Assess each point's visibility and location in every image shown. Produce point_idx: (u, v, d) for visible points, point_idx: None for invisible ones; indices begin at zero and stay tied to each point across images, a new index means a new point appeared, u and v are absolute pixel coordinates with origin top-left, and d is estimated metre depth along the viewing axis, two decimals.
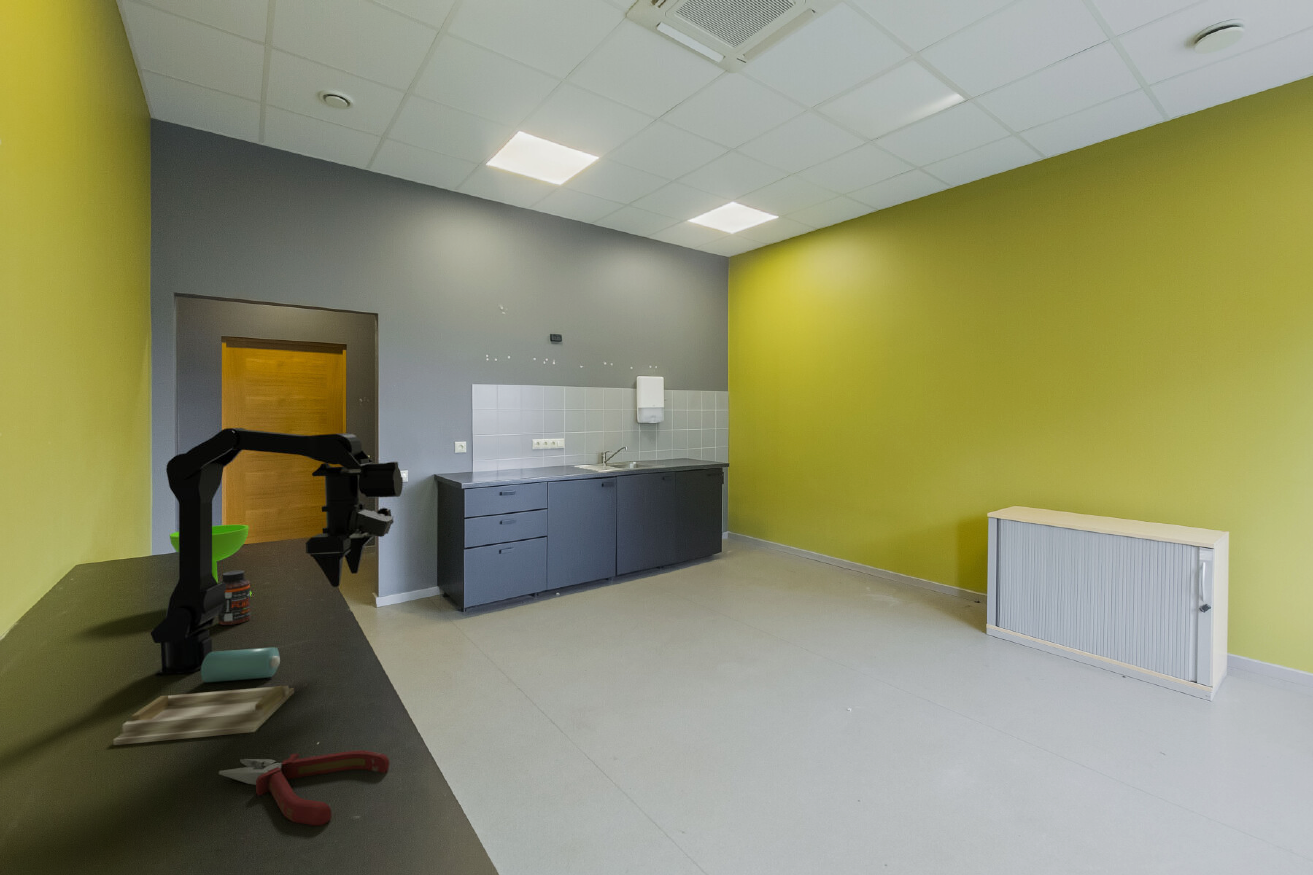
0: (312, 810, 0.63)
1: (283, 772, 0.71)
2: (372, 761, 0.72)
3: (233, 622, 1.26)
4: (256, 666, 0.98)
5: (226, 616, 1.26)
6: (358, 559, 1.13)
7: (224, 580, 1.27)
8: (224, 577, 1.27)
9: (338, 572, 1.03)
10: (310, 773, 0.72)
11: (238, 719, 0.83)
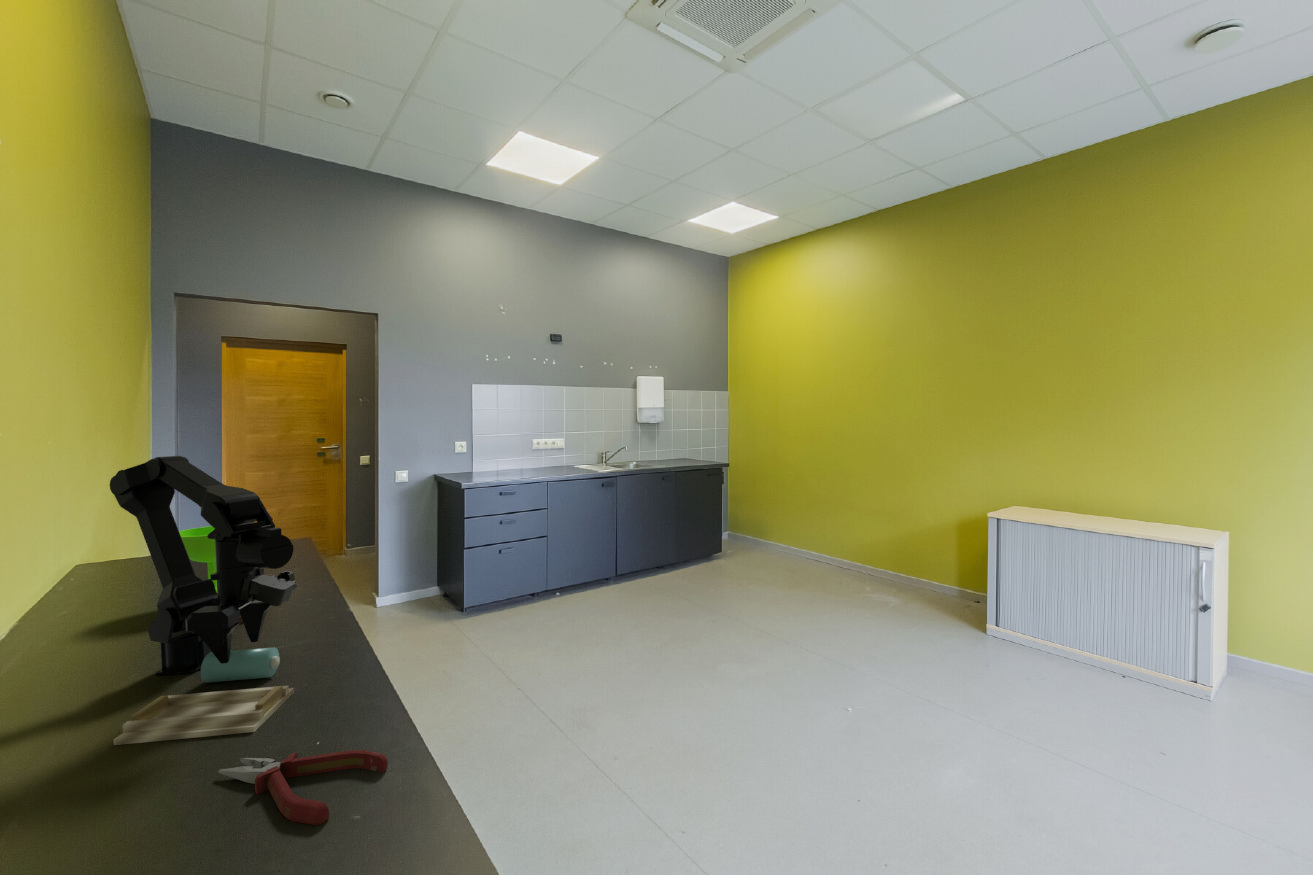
0: (310, 809, 0.63)
1: (282, 771, 0.71)
2: (370, 761, 0.73)
3: None
4: (256, 667, 0.98)
5: None
6: (258, 626, 1.04)
7: None
8: None
9: (226, 647, 0.94)
10: (309, 772, 0.72)
11: (238, 719, 0.83)
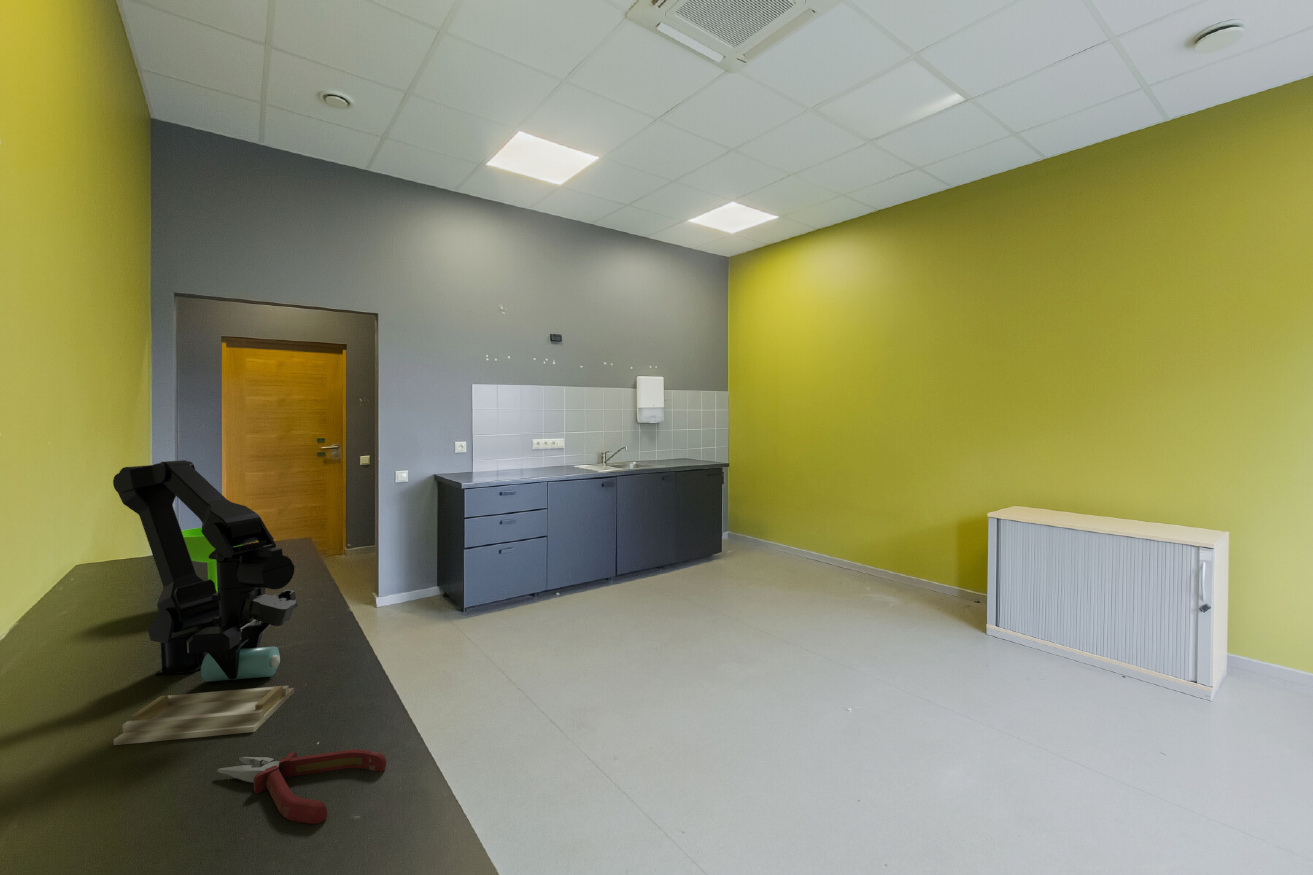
0: (308, 808, 0.63)
1: (281, 770, 0.71)
2: (369, 760, 0.73)
3: None
4: (256, 666, 0.98)
5: None
6: None
7: None
8: None
9: (234, 663, 0.96)
10: (308, 772, 0.72)
11: (238, 719, 0.83)
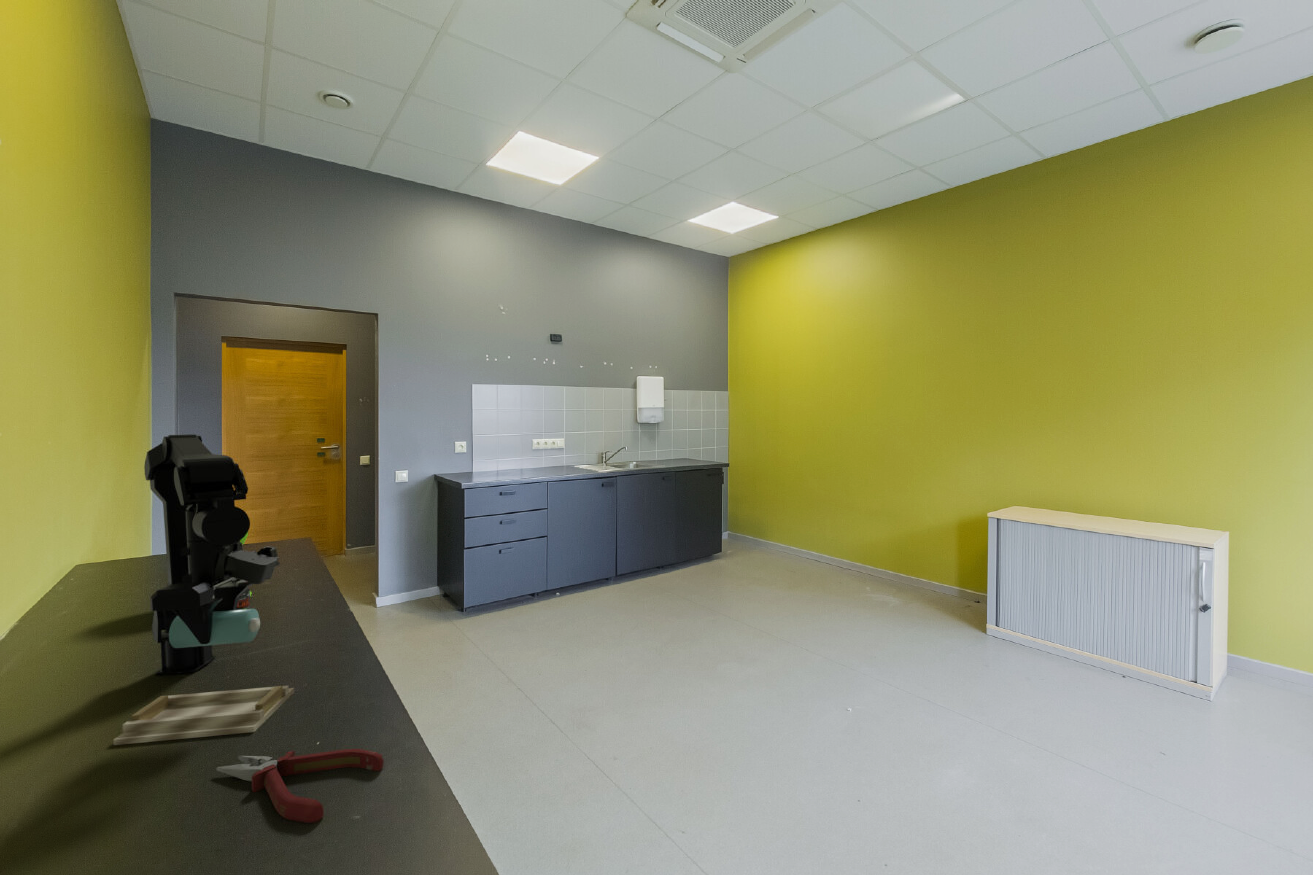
0: (304, 807, 0.63)
1: (279, 769, 0.72)
2: (366, 760, 0.73)
3: None
4: (233, 629, 0.87)
5: None
6: None
7: None
8: None
9: (206, 626, 0.85)
10: (305, 771, 0.72)
11: (238, 719, 0.83)
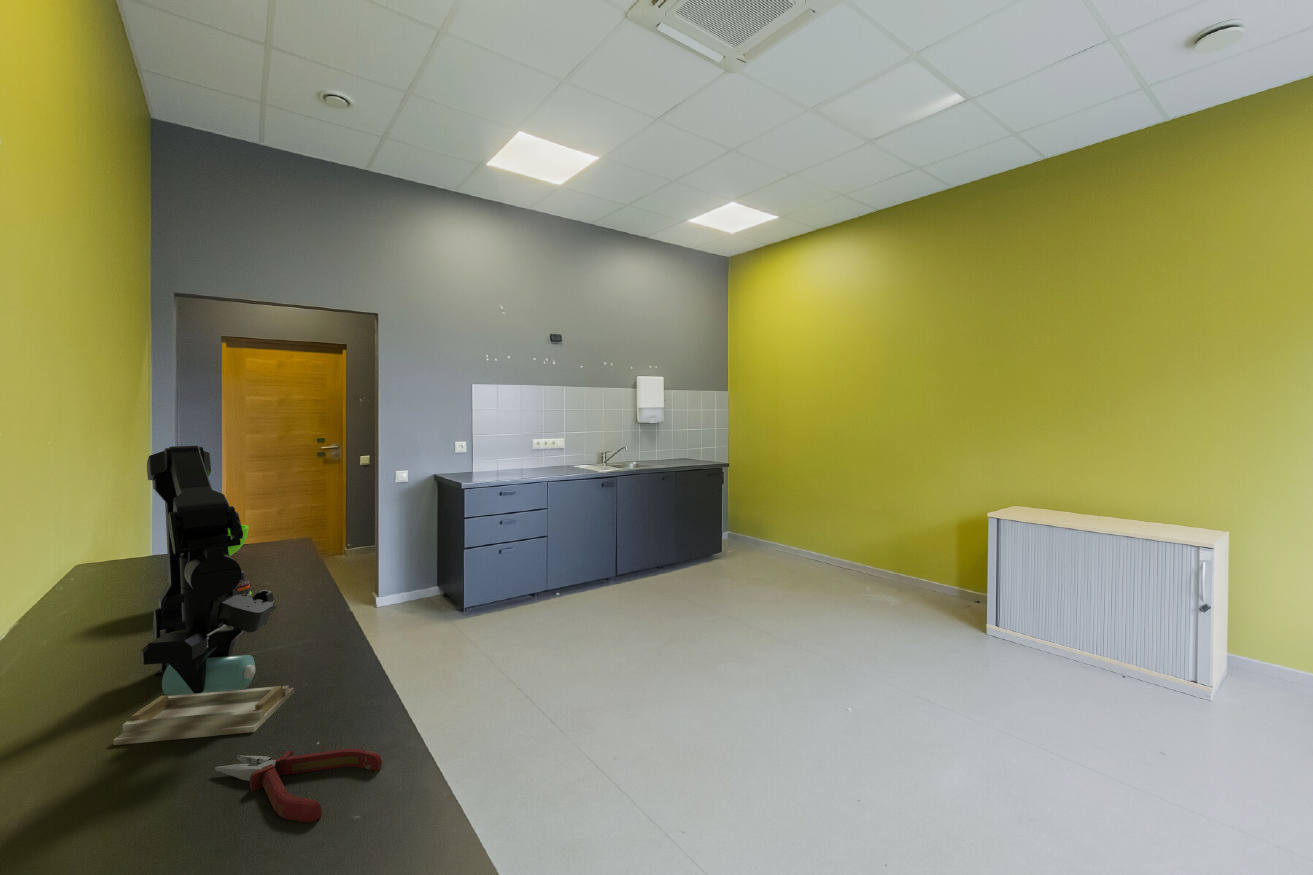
0: (302, 807, 0.63)
1: (277, 769, 0.72)
2: (364, 759, 0.73)
3: None
4: (227, 678, 0.85)
5: None
6: None
7: None
8: None
9: (200, 675, 0.83)
10: (304, 770, 0.72)
11: (238, 719, 0.83)
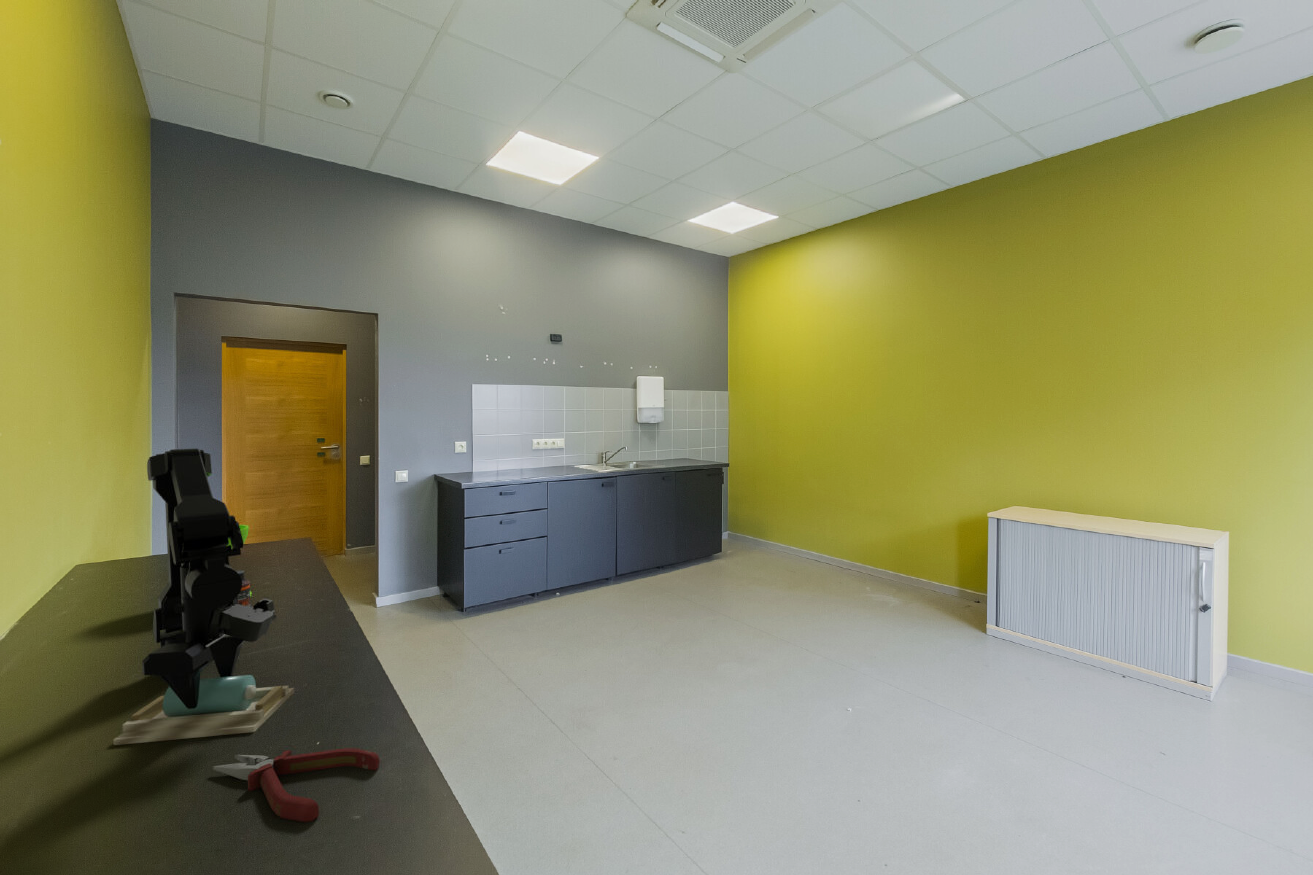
0: (300, 806, 0.63)
1: (275, 768, 0.72)
2: (362, 759, 0.73)
3: None
4: (227, 699, 0.85)
5: None
6: (231, 664, 0.91)
7: None
8: None
9: (193, 690, 0.82)
10: (302, 770, 0.72)
11: (238, 719, 0.83)
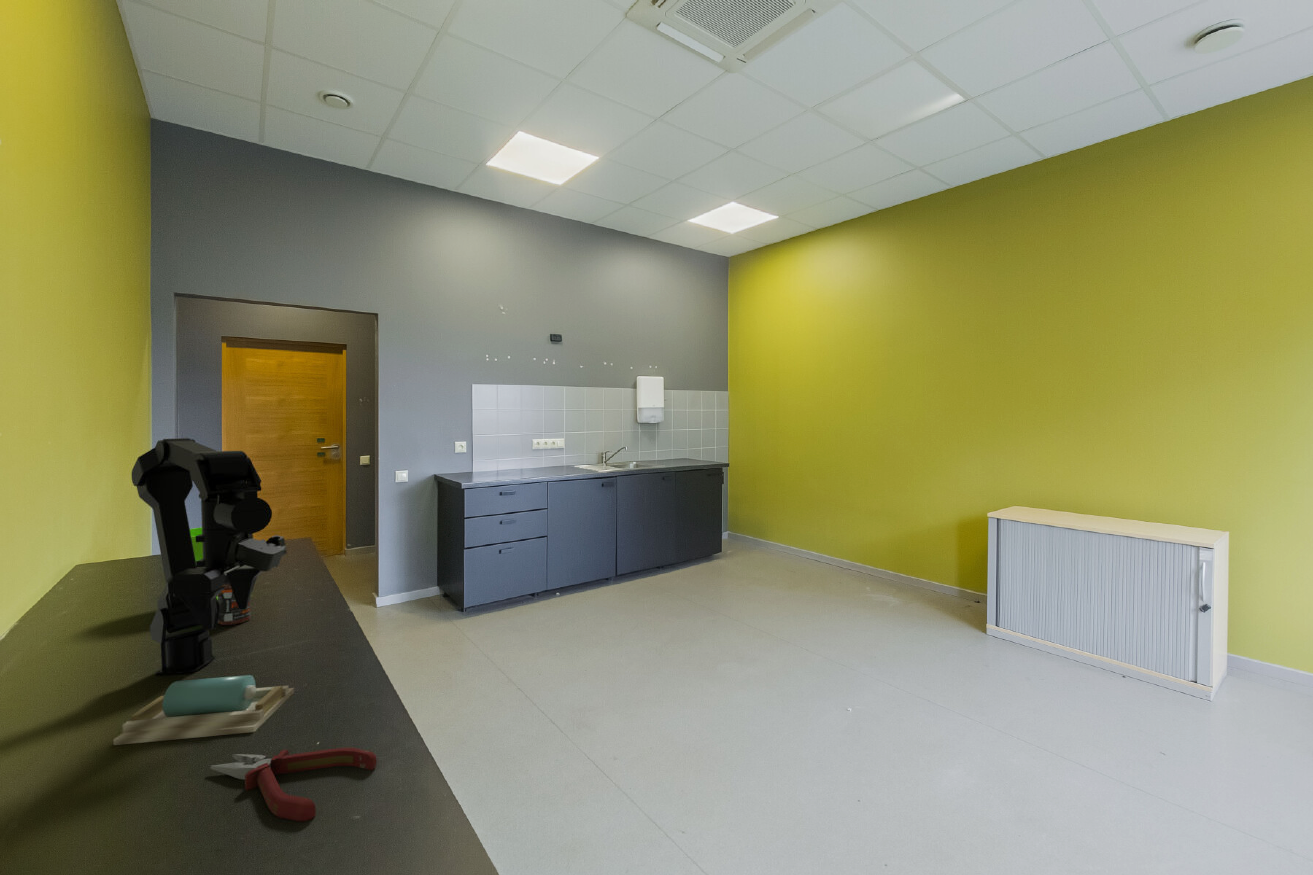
0: (296, 806, 0.64)
1: (272, 768, 0.72)
2: (359, 758, 0.73)
3: (233, 622, 1.26)
4: (227, 699, 0.85)
5: (226, 616, 1.26)
6: (247, 593, 1.00)
7: None
8: None
9: (210, 612, 0.90)
10: (299, 769, 0.73)
11: (238, 719, 0.83)
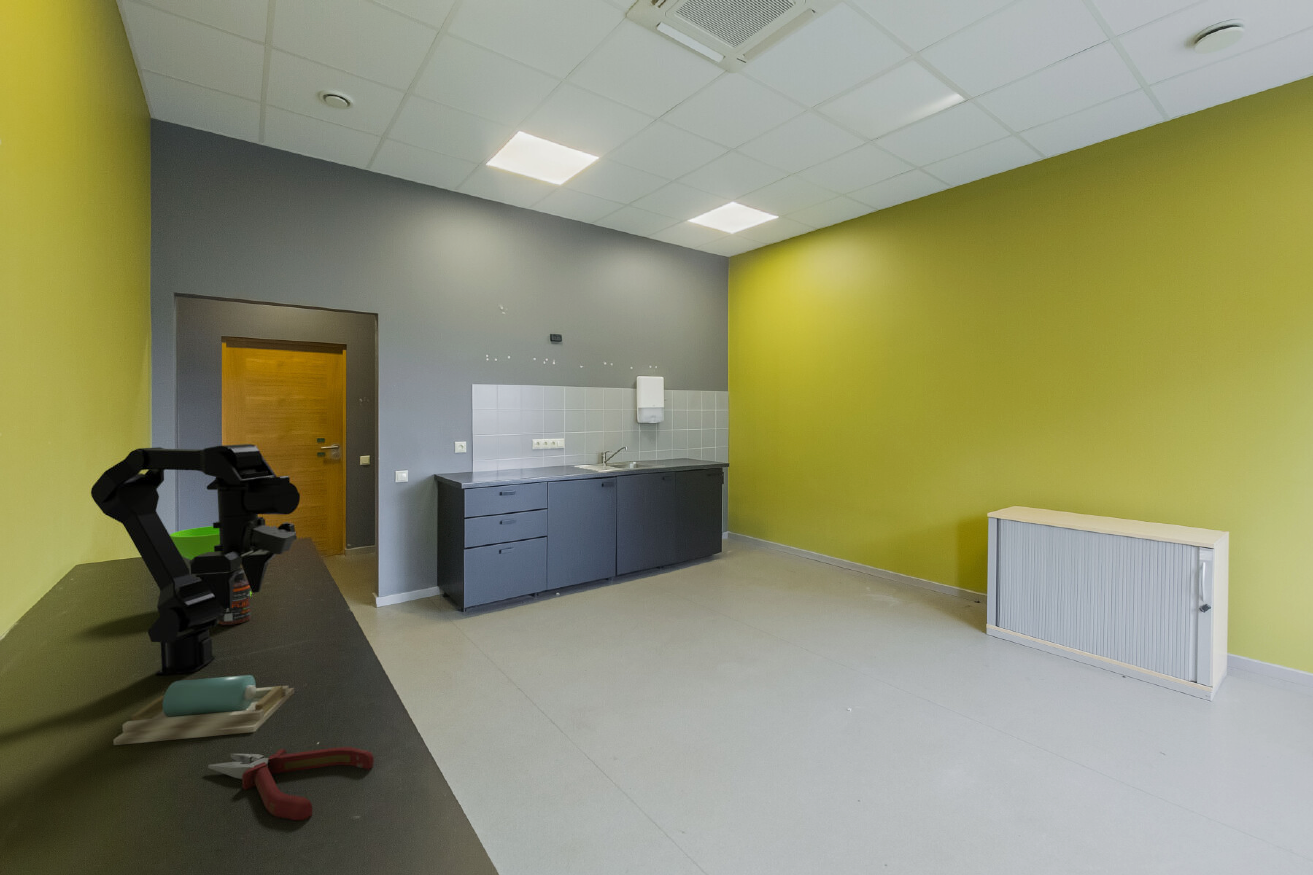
0: (293, 805, 0.64)
1: (270, 767, 0.72)
2: (356, 758, 0.73)
3: (233, 622, 1.26)
4: (227, 699, 0.85)
5: (226, 616, 1.26)
6: (260, 577, 1.07)
7: None
8: None
9: (228, 592, 0.97)
10: (296, 768, 0.73)
11: (238, 719, 0.83)
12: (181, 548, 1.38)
